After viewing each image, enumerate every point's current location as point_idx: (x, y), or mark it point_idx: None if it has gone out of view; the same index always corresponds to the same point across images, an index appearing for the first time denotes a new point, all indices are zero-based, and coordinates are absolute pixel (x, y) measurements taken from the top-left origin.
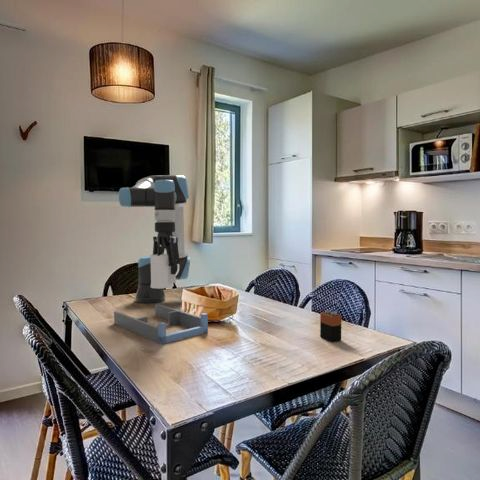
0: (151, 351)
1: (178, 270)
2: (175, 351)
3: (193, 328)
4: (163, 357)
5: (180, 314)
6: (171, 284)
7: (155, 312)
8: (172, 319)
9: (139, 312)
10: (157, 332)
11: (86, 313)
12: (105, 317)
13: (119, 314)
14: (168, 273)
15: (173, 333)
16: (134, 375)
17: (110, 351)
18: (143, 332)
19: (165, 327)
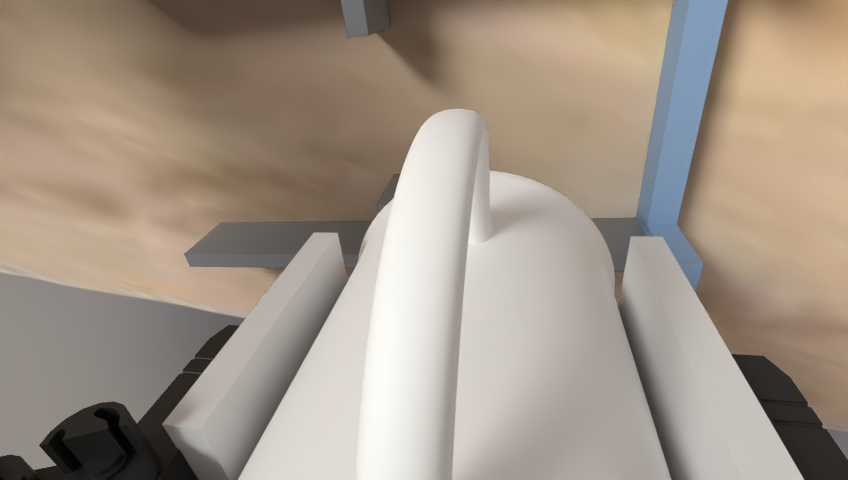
0: (700, 297)
1: (486, 134)
2: (805, 235)
3: (704, 14)
4: (808, 300)
5: None
6: (605, 260)
7: None
8: (378, 3)
9: (30, 40)
10: None
11: (14, 248)
12: (103, 219)
13: (246, 264)
14: (657, 430)
15: (672, 172)
16: (838, 419)
17: None
18: None
19: (693, 251)
